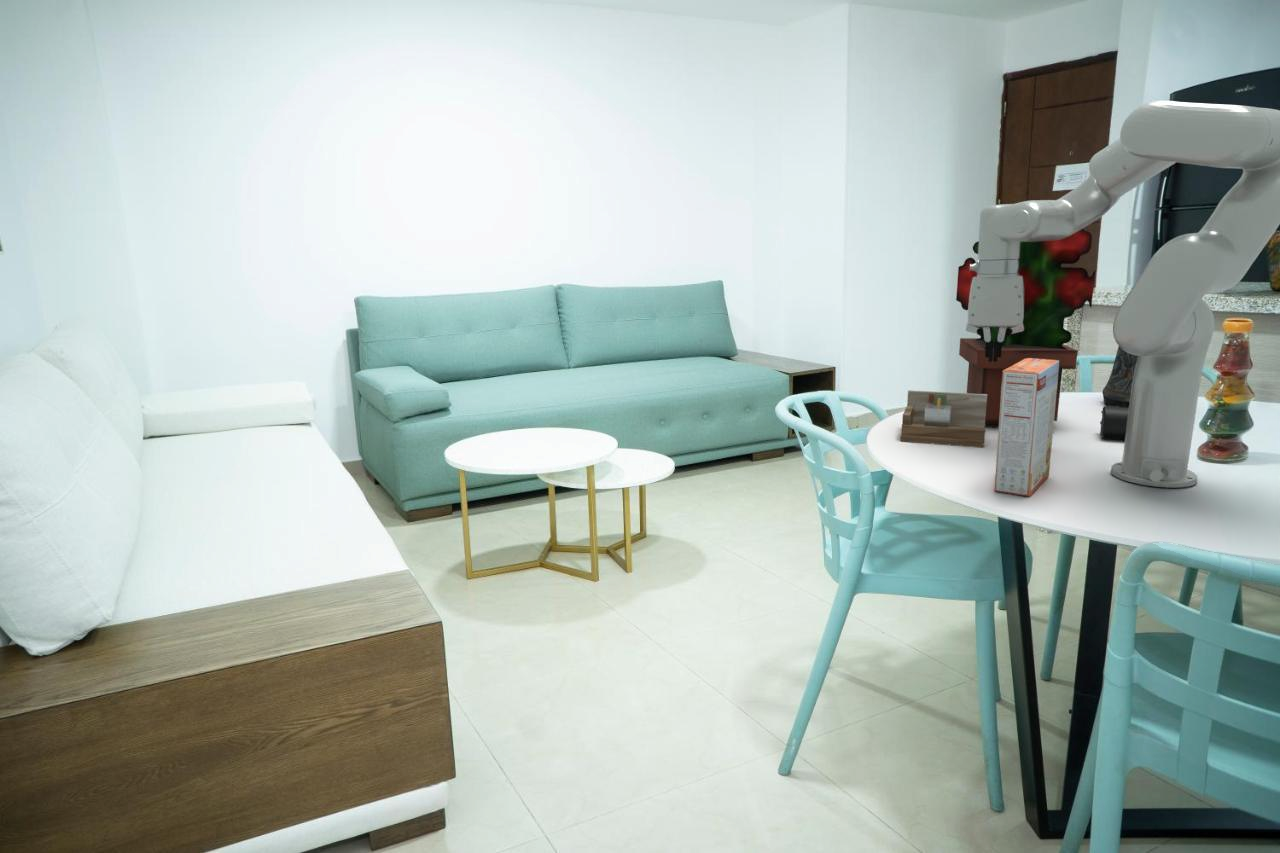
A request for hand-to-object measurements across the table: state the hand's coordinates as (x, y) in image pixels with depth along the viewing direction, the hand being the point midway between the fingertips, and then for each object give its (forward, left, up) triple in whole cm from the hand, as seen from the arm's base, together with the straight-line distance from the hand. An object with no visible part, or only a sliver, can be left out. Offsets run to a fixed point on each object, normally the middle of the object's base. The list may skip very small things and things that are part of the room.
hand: (992, 360), depth 159 cm
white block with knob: (0, +10, -15) cm, 18 cm away
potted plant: (+19, -5, -17) cm, 26 cm away
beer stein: (+43, -35, -17) cm, 58 cm away
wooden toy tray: (0, +8, -17) cm, 19 cm away
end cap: (+9, -27, -17) cm, 33 cm away
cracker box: (-30, -6, -17) cm, 35 cm away
